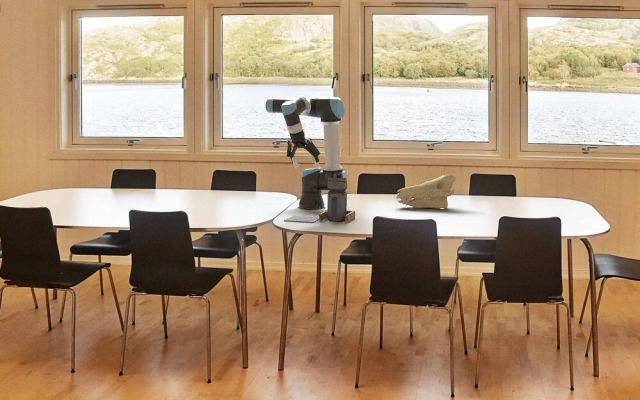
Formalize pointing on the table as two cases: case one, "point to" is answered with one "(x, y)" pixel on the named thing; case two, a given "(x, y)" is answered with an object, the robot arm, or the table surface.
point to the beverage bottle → (337, 198)
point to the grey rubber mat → (302, 219)
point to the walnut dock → (349, 217)
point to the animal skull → (428, 193)
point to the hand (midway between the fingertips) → (307, 167)
